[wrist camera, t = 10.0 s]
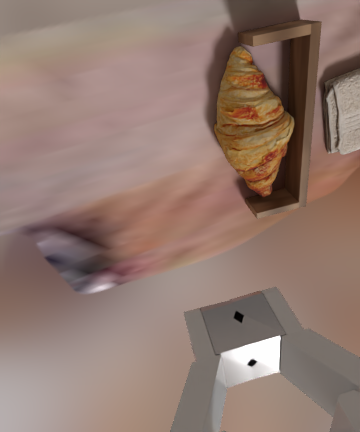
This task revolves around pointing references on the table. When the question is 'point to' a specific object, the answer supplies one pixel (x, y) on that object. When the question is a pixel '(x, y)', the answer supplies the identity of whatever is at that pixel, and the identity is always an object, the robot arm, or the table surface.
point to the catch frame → (292, 110)
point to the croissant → (251, 123)
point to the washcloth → (342, 113)
